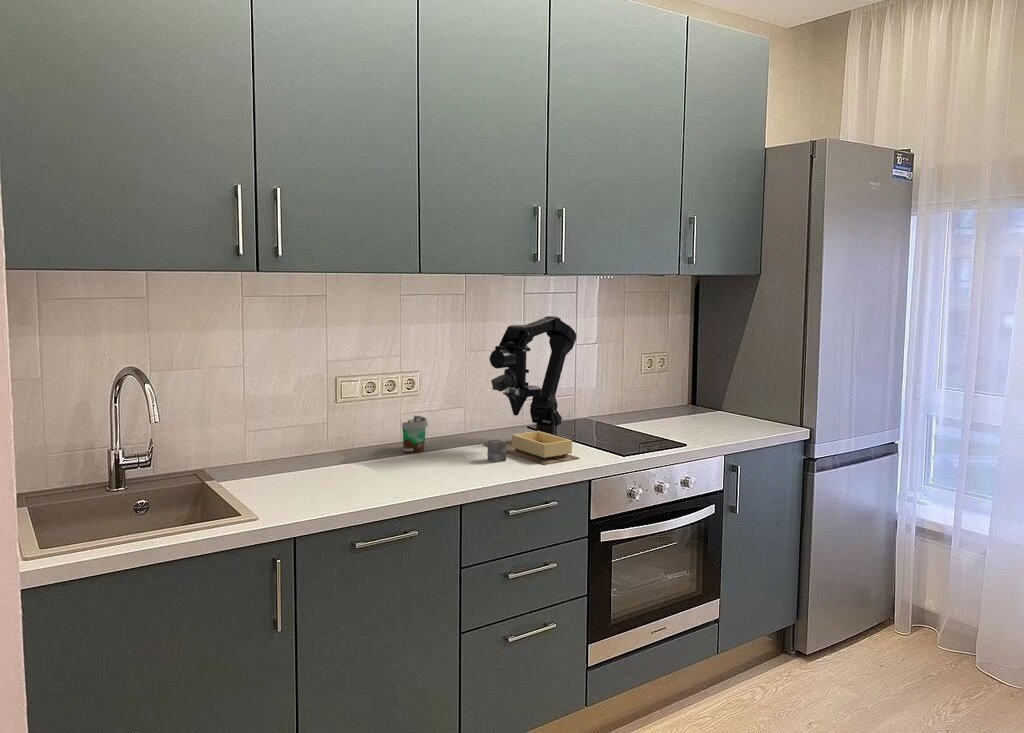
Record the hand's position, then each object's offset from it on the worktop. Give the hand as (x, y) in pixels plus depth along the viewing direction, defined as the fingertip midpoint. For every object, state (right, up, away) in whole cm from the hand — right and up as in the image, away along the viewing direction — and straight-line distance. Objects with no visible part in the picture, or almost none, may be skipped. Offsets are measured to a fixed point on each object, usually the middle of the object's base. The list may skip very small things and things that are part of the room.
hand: (515, 415), depth 264 cm
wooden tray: (+8, -12, -4) cm, 15 cm away
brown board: (+4, -11, +1) cm, 12 cm away
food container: (-31, -11, 0) cm, 33 cm away
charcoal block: (-6, -13, -12) cm, 18 cm away
